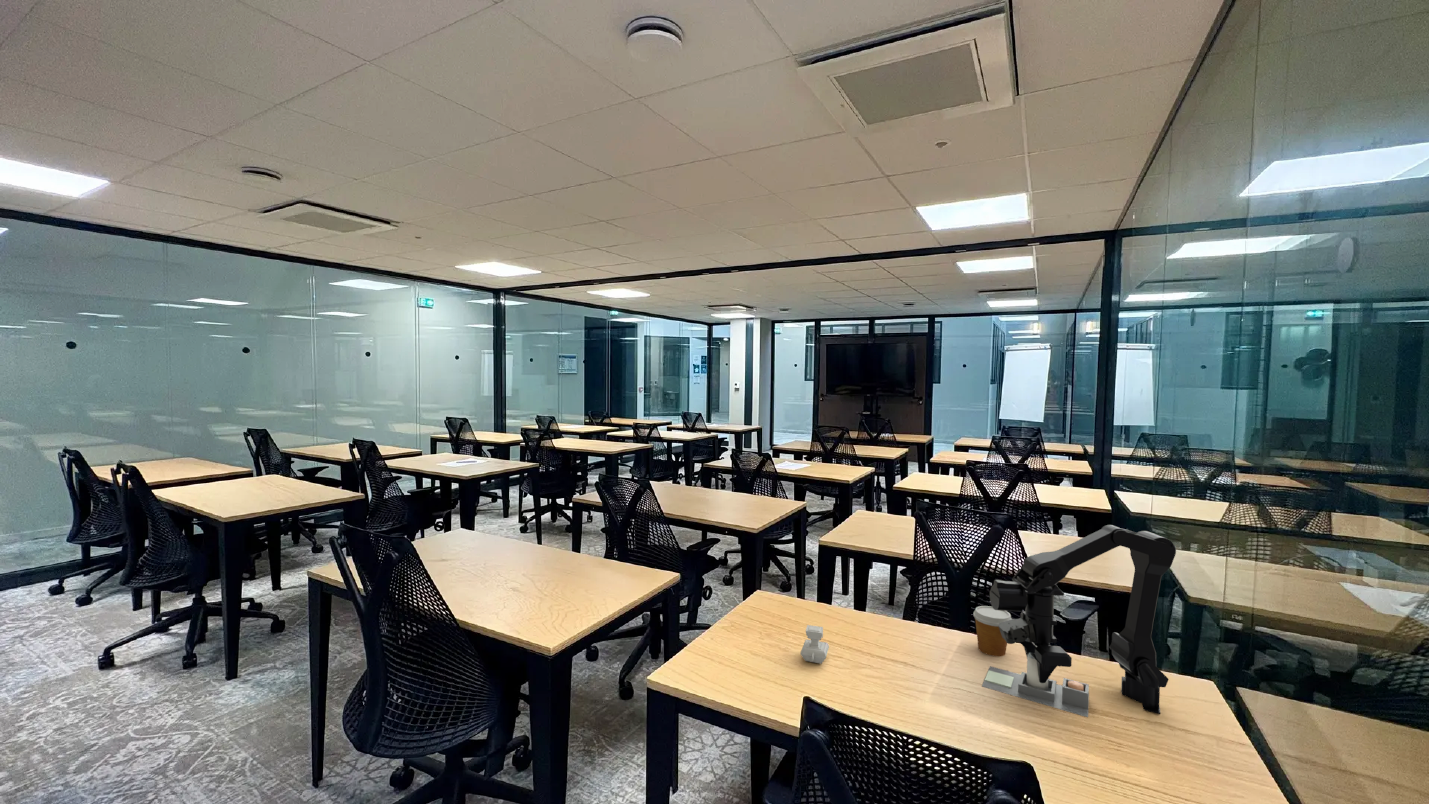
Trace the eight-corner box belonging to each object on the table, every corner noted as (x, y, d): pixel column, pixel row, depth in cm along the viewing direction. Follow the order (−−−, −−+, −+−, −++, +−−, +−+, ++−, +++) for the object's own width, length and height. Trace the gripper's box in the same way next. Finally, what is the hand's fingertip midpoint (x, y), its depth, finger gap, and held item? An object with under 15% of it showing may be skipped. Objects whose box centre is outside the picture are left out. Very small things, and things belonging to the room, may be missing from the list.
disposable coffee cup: (1008, 668, 143) (1009, 622, 143) (968, 657, 149) (969, 613, 149) (1014, 654, 151) (1015, 611, 150) (976, 644, 156) (977, 602, 156)
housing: (1088, 699, 129) (1089, 678, 129) (1087, 724, 119) (1088, 701, 119) (989, 671, 141) (990, 652, 141) (981, 692, 131) (982, 671, 131)
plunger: (1083, 697, 126) (1083, 683, 126) (1083, 703, 123) (1083, 689, 123) (1067, 693, 127) (1068, 679, 127) (1067, 698, 125) (1067, 684, 125)
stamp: (825, 669, 141) (825, 637, 141) (799, 665, 143) (800, 633, 143) (829, 654, 149) (829, 623, 149) (804, 650, 151) (805, 619, 151)
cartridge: (1042, 683, 132) (1043, 650, 131) (1051, 693, 127) (1052, 659, 127) (1023, 682, 132) (1024, 649, 132) (1031, 692, 128) (1032, 658, 128)
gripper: (988, 595, 140) (987, 656, 140) (1019, 626, 121) (1017, 696, 121) (1035, 597, 138) (1034, 659, 138) (1073, 629, 120) (1071, 700, 120)
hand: (1037, 677), depth 130 cm, fingers closed on cartridge, 4 cm apart
